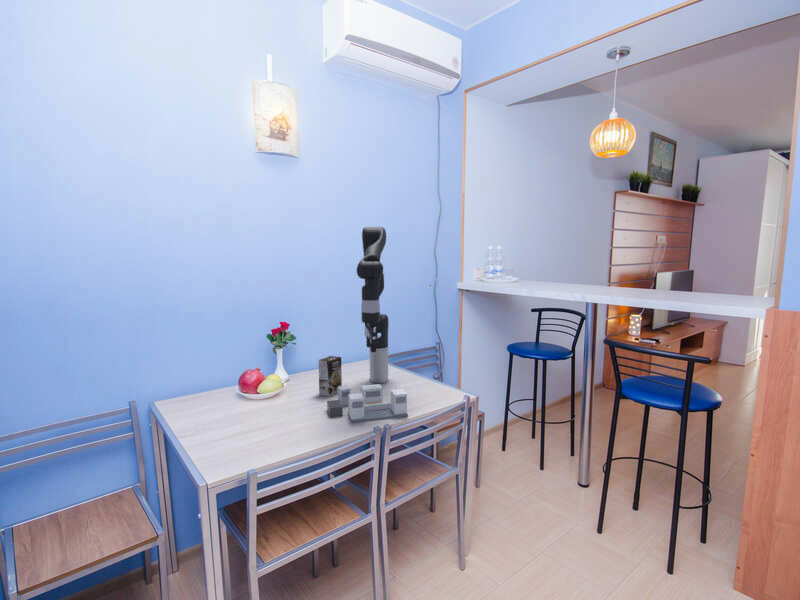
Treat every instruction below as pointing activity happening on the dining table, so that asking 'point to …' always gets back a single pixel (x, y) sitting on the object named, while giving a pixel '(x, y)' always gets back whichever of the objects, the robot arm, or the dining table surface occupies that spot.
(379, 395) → the loose module
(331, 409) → the block
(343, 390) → the block
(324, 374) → the coffee box
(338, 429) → the dining table surface
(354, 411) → the rail mount
